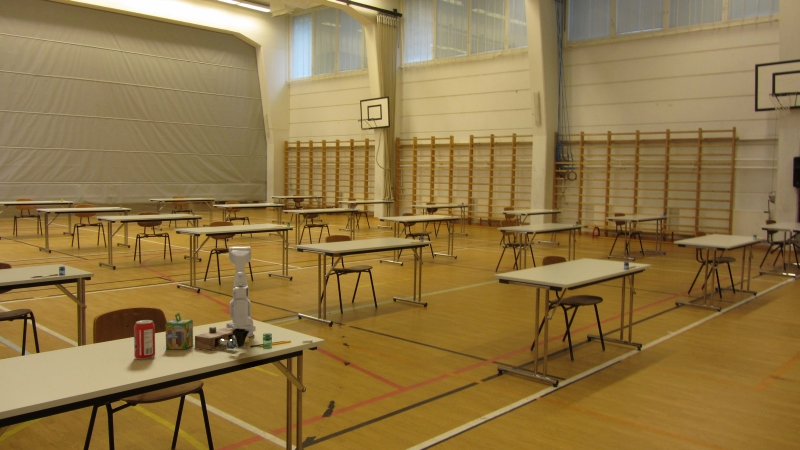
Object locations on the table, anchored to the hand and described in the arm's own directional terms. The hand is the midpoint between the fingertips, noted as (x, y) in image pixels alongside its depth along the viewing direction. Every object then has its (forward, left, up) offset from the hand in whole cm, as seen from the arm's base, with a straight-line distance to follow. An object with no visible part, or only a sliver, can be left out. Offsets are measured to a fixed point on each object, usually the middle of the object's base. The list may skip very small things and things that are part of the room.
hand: (241, 346), depth 259 cm
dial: (-4, -20, +3) cm, 21 cm away
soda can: (+26, -28, -3) cm, 38 cm away
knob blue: (0, -10, -2) cm, 10 cm away
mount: (-4, -17, -2) cm, 18 cm away
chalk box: (+7, -29, -3) cm, 30 cm away
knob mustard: (-8, -10, -2) cm, 13 cm away
